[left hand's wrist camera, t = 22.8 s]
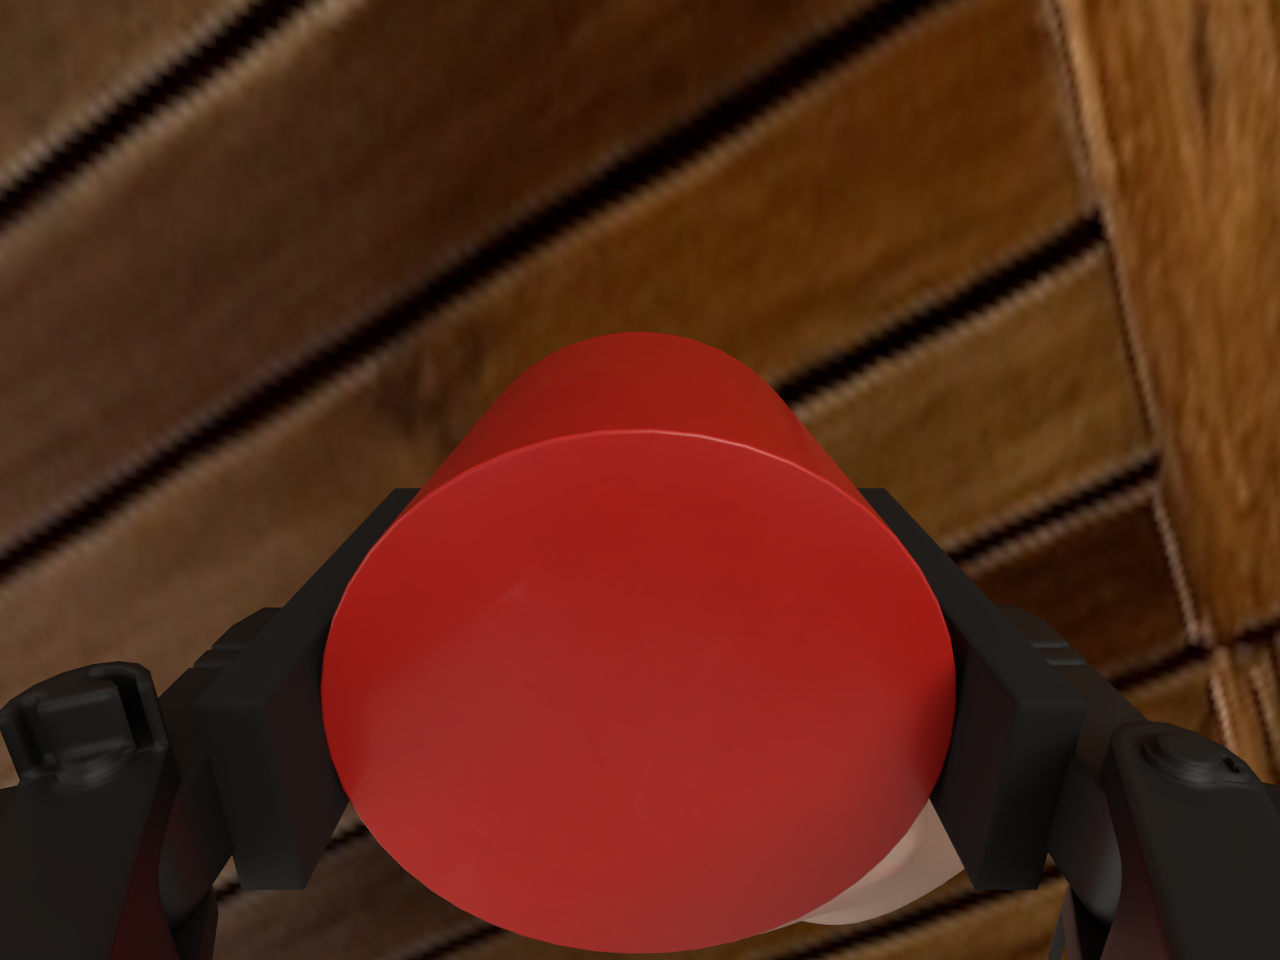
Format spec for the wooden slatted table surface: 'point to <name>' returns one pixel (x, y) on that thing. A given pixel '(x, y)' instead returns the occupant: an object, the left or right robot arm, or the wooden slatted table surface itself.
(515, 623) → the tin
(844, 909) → the anatomical model
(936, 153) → the wooden slatted table surface
